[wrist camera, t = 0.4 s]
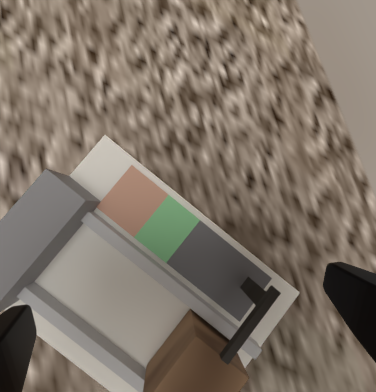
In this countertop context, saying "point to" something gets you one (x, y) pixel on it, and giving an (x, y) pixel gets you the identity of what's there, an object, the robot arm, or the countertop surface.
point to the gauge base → (124, 267)
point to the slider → (206, 351)
